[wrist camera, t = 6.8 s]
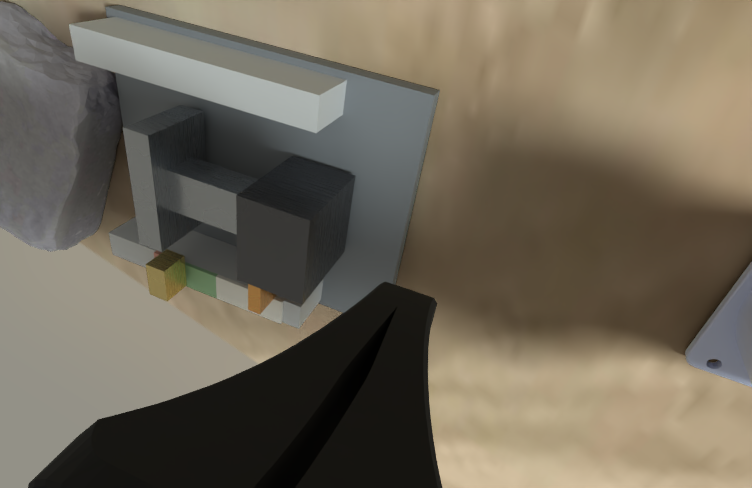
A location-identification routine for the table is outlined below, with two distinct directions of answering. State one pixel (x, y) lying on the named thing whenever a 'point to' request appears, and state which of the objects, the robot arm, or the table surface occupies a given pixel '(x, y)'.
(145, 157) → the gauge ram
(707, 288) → the table surface
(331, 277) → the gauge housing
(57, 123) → the stone block
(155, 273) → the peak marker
